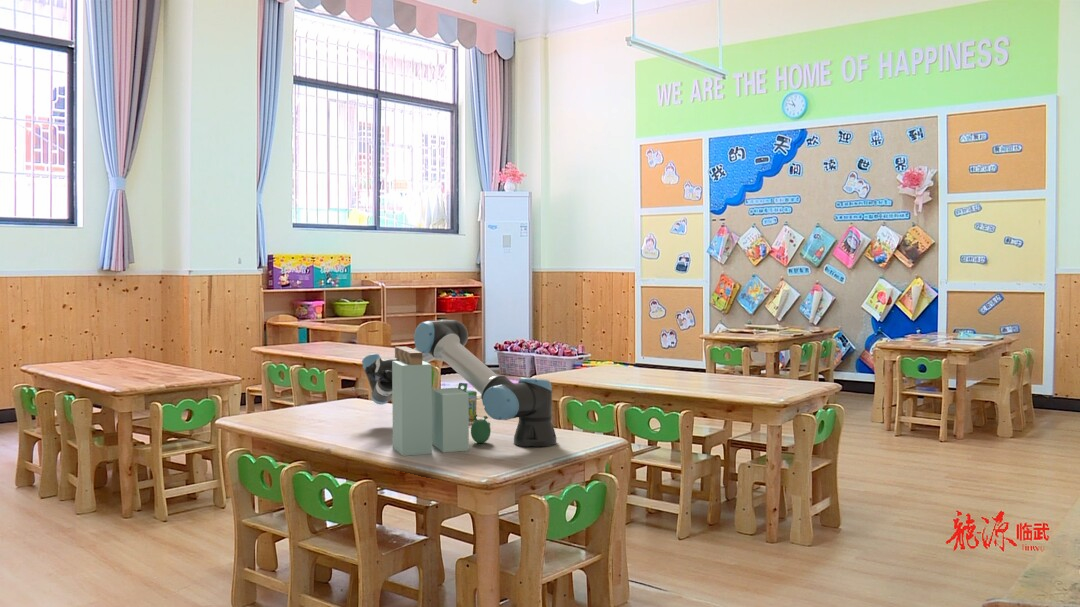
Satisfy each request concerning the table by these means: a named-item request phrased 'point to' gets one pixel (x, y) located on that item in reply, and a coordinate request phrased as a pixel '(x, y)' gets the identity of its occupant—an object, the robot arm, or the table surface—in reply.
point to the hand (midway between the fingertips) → (397, 361)
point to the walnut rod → (408, 355)
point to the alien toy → (480, 430)
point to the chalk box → (470, 400)
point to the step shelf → (427, 412)
